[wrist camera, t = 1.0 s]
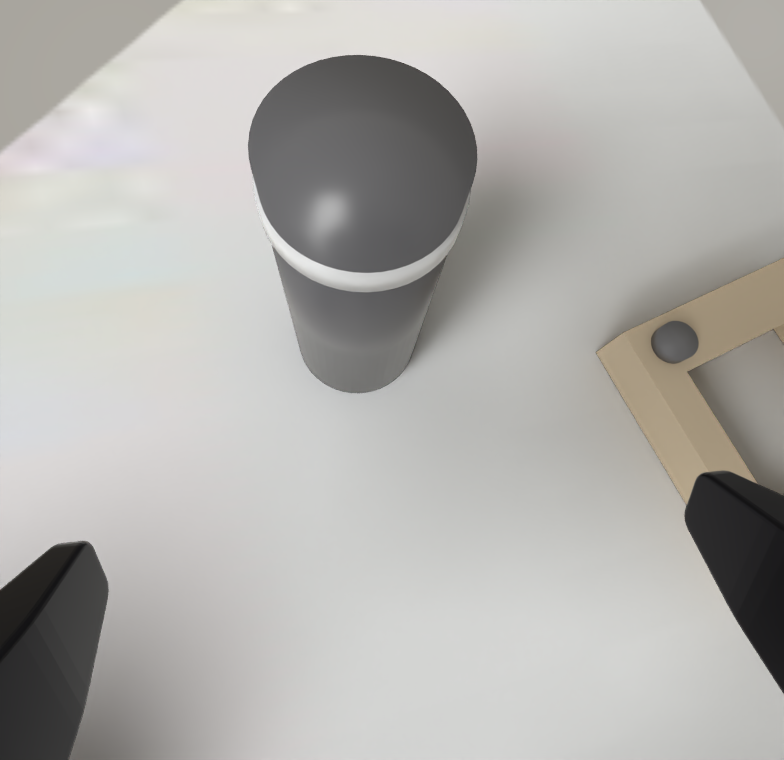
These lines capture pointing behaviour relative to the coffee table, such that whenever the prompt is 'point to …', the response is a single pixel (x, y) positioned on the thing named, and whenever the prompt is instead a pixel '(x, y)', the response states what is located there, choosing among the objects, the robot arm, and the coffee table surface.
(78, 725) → the robot arm
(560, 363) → the coffee table surface
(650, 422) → the tan square frame
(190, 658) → the coffee table surface
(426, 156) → the canister
